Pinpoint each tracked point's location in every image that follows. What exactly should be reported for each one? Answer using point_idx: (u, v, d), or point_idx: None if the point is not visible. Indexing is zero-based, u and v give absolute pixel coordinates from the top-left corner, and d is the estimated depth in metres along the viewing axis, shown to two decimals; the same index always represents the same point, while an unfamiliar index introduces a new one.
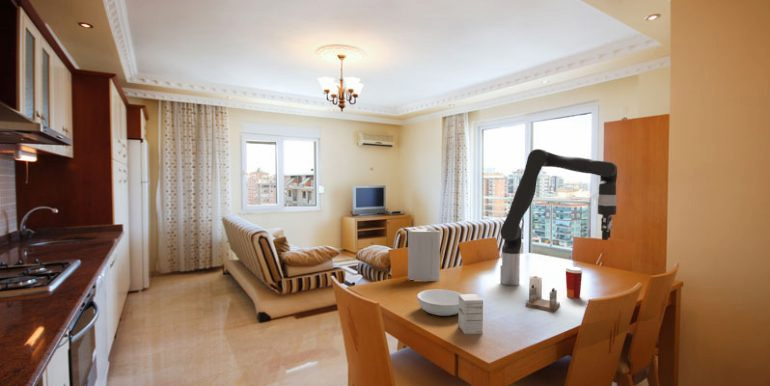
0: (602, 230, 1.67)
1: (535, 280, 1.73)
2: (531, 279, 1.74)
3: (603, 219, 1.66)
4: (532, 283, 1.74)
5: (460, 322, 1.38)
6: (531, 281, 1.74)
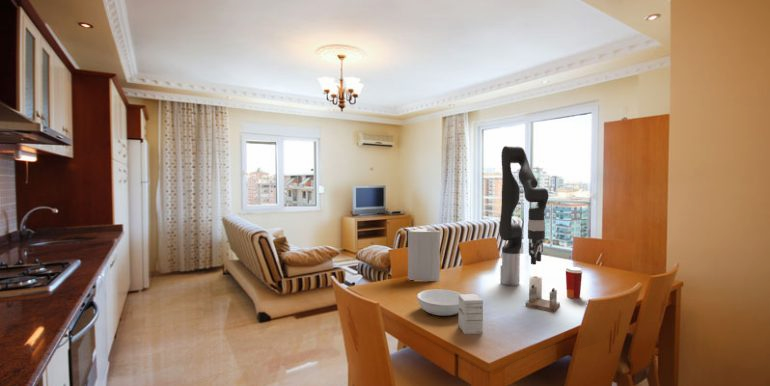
0: (530, 255, 1.70)
1: (535, 280, 1.73)
2: (531, 279, 1.74)
3: (530, 244, 1.70)
4: (532, 283, 1.74)
5: (460, 322, 1.38)
6: (531, 281, 1.74)
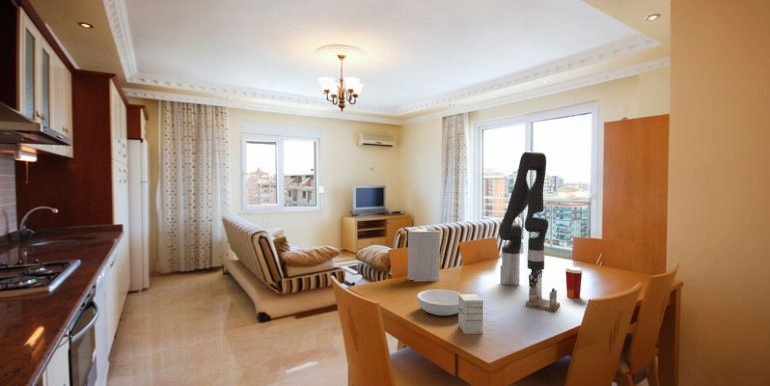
0: (530, 286, 1.72)
1: (535, 280, 1.73)
2: None
3: (530, 277, 1.70)
4: (532, 283, 1.74)
5: (460, 322, 1.38)
6: None
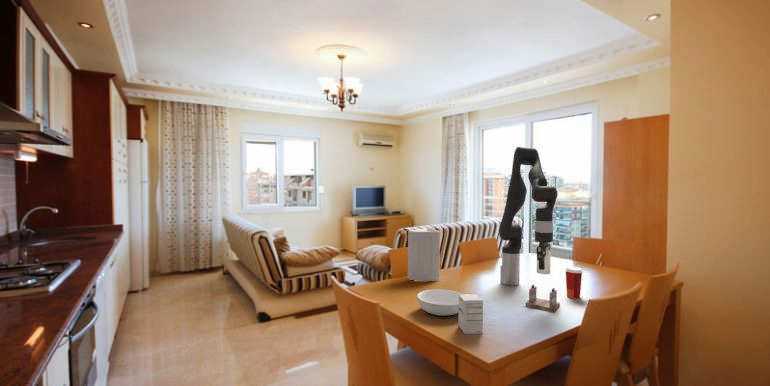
0: (538, 260, 1.60)
1: (543, 253, 1.61)
2: None
3: (538, 249, 1.58)
4: (540, 256, 1.62)
5: (460, 322, 1.38)
6: None
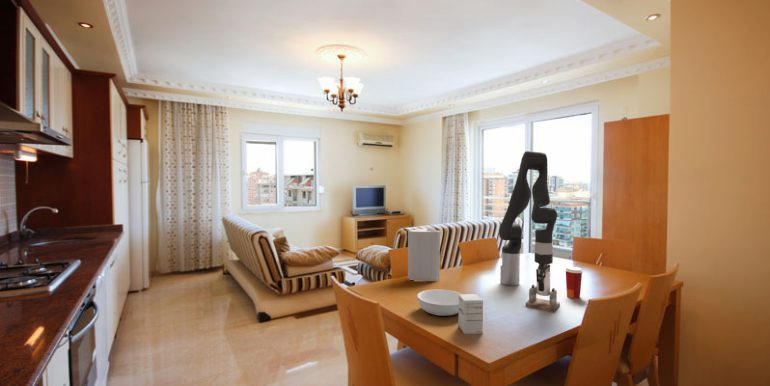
0: (538, 281, 1.60)
1: (543, 275, 1.61)
2: None
3: (538, 271, 1.59)
4: (540, 278, 1.62)
5: (460, 322, 1.38)
6: None
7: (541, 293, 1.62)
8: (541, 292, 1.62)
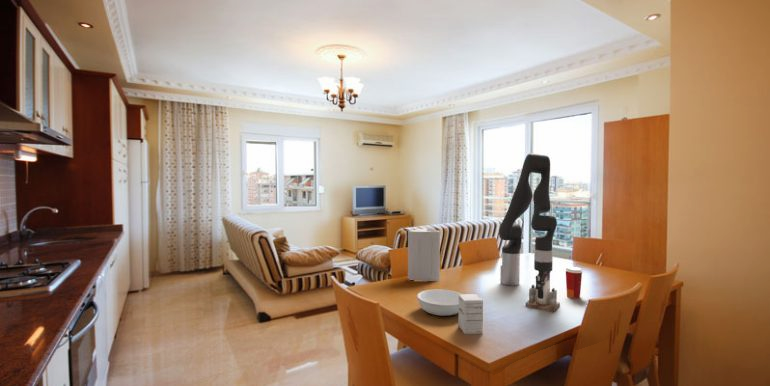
0: (537, 289, 1.60)
1: None
2: None
3: (537, 278, 1.59)
4: None
5: (460, 322, 1.38)
6: None
7: (541, 302, 1.62)
8: (541, 301, 1.62)
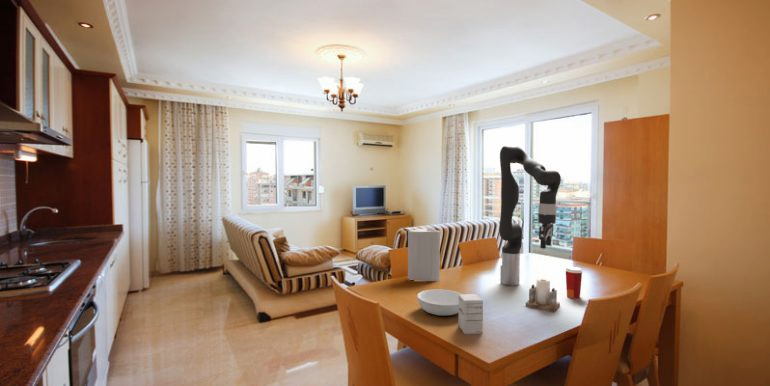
0: (540, 239, 1.68)
1: (543, 284, 1.61)
2: (538, 282, 1.63)
3: (541, 228, 1.67)
4: (539, 287, 1.62)
5: (460, 322, 1.38)
6: (539, 284, 1.62)
7: (541, 302, 1.62)
8: (541, 301, 1.62)
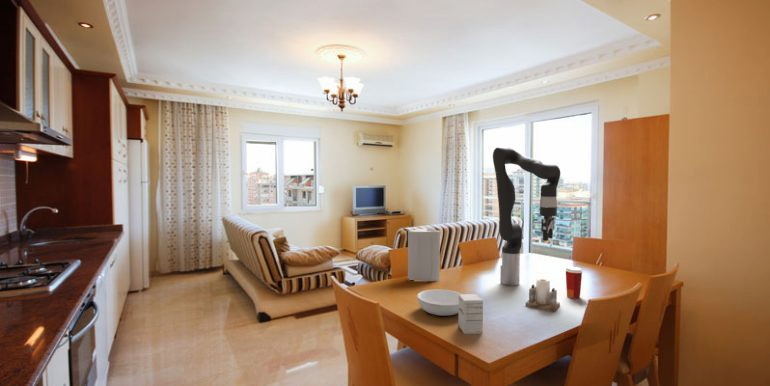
0: (542, 231, 1.71)
1: (542, 283, 1.62)
2: (538, 282, 1.63)
3: (543, 220, 1.71)
4: (539, 287, 1.62)
5: (460, 322, 1.38)
6: (539, 284, 1.63)
7: (540, 302, 1.62)
8: (540, 301, 1.62)
